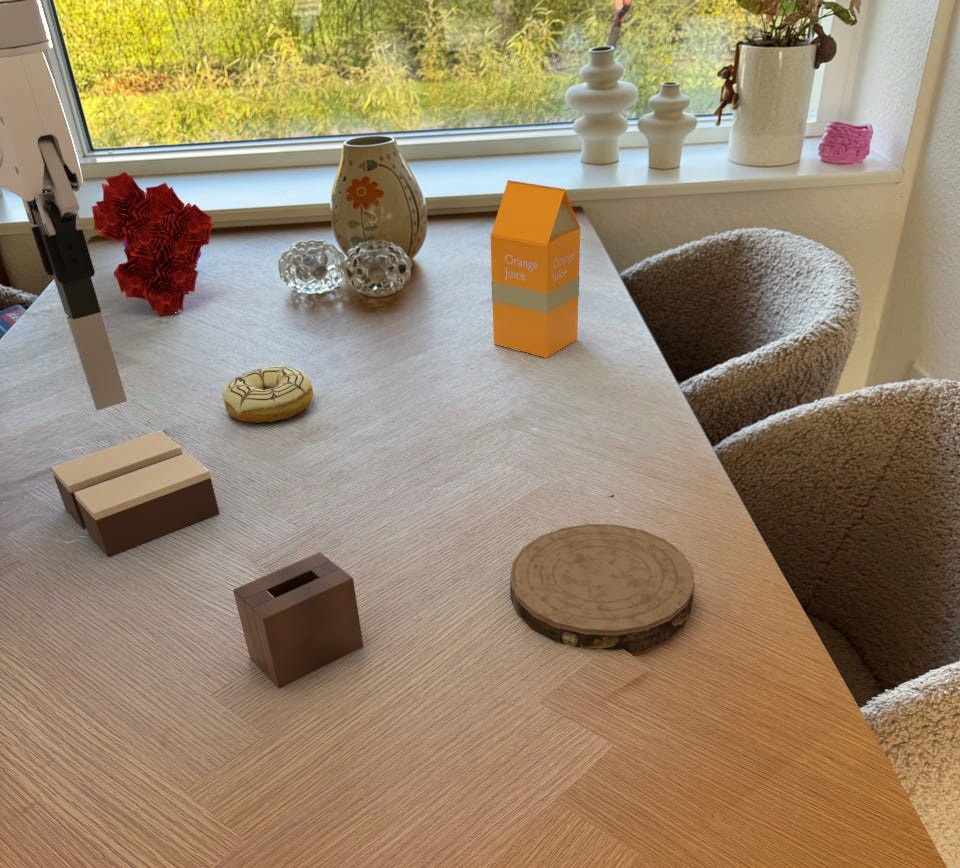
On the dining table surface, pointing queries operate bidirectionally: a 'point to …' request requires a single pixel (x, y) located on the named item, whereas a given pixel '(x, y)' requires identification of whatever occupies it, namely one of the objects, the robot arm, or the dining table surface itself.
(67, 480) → the cake
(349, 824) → the dining table surface
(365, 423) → the dining table surface
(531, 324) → the orange juice
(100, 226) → the bouquet
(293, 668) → the knife block
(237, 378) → the decorated donut
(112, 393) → the knife
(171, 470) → the cake slice
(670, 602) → the wood slice coaster
